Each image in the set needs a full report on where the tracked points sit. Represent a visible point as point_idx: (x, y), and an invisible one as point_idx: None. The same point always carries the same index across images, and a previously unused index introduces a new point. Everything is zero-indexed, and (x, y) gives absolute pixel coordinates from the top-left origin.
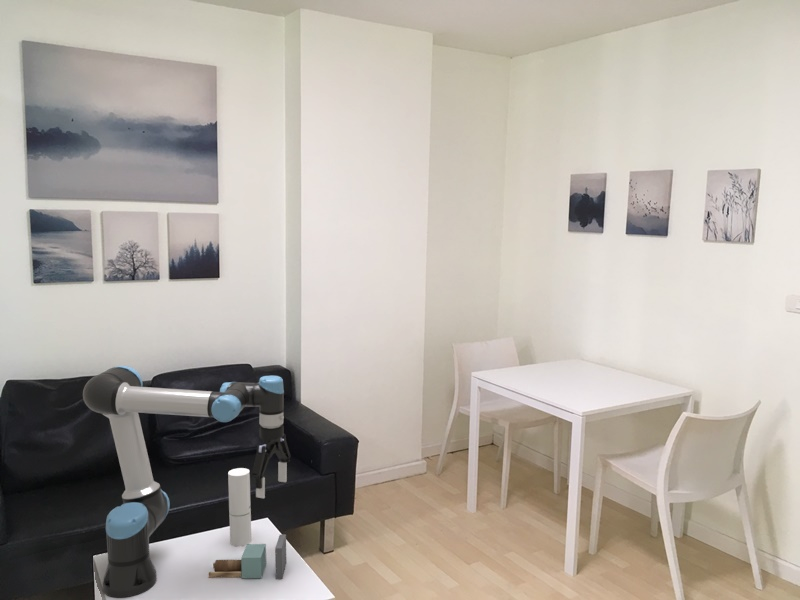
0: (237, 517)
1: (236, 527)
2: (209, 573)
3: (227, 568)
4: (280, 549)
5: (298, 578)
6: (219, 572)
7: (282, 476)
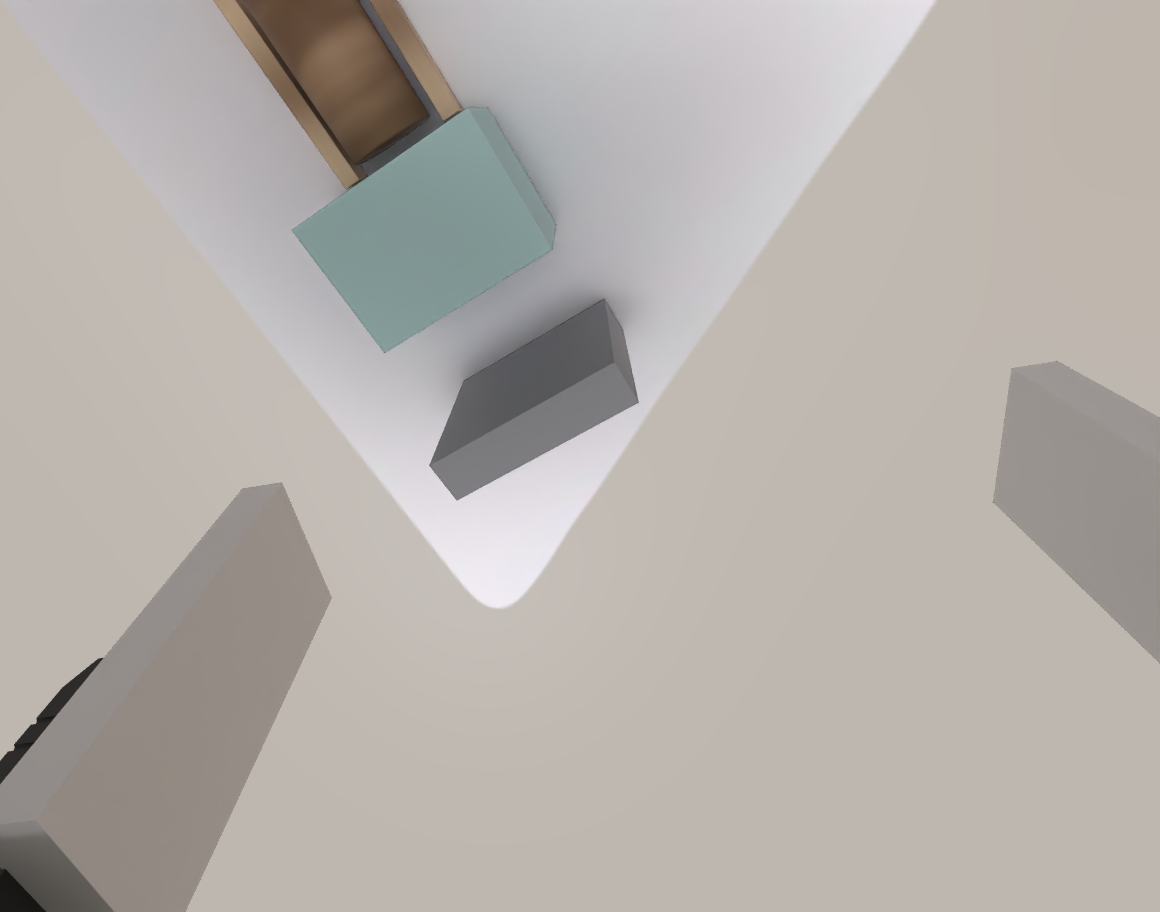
0: None
1: None
2: None
3: (297, 80)
4: (452, 490)
5: (534, 474)
6: (251, 41)
7: (1068, 504)
